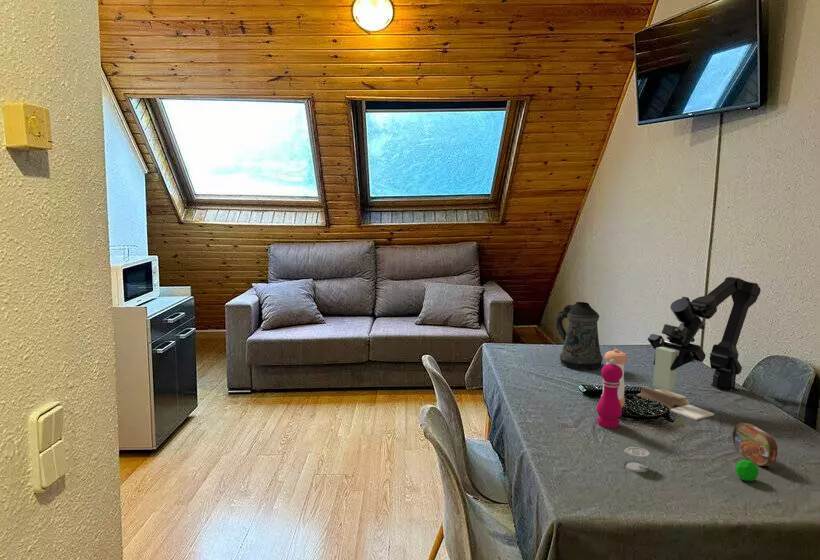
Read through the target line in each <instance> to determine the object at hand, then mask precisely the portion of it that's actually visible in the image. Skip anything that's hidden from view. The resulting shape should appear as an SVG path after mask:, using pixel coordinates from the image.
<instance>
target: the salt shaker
mask: <svg viewBox="0 0 820 560" xmlns="http://www.w3.org/2000/svg"><path fill="white" fill-rule="evenodd" d="M603 358H604V360H605V362H606V364H605V365H607V364H610V360H611V359H614V360H615V361H616V364H615V365H618V366H619V367H620V368H621V369H622V372H623V375H622V378H621V379H620V380H619V381H620V386H619V387H618V399H619V401H620V404H621V407H623V406H624V407H625V405H626V404H625V402H626V399H625V389H626V387H625V376H624V375H625V364H626V363H627V361H628V360H629V359H628V356H627V354H626V353H624V352H623V351H620V350H619V349H618V348H614V349H613V350H610V351H607V352H605V354H604V355H603ZM603 391H604V385H603V384H602V392H603ZM602 395H603V393H602V394H601V395H600V398H601V397H602Z"/></svg>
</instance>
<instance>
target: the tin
mask: <svg viewBox="0 0 820 560" xmlns="http://www.w3.org/2000/svg"><path fill="white" fill-rule="evenodd" d="M732 442H733V446H734V448H735V450H736V452H738V453H739V454H740V455H741V456H743V457H745V458H746V459H747V460H750V461H752V462H753V463H754V464H755V465H756V466H757V467H758V466H761V467H764V466H767V467H770V466H772V465H773V464H775V463H776V461H777V457H778V445H777V442H776V440H775V438H774V437H773V435H772V434H769V433H768V432H766V431H764V430H762V429H761V428H759V427H758V426H755V425H754V424H752V423H744V422H739V423H737V424H735V426H734V428H733V431H732Z"/></svg>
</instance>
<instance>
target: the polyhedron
mask: <svg viewBox="0 0 820 560" xmlns="http://www.w3.org/2000/svg"><path fill="white" fill-rule="evenodd" d="M759 473H760V469H759V467H758V465H756V464H755V463H753V462H752V461H750V460H749V459H743V460H740V461H738V462H737V463H736V465H735V474H736V475H737V476H738V477H739V478H740V479H741V480H742V481H745V482H753V481H754V480H757V478H758V477H759Z"/></svg>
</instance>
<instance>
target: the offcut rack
mask: <svg viewBox="0 0 820 560" xmlns="http://www.w3.org/2000/svg"><path fill="white" fill-rule="evenodd" d="M637 396H639V397H641V398H645V399H649V400H653V401H657V402H660V403H663V404H664V405H666V406H667V407H668V408H669V409H668V410H670V411H671V409H673V408H675V407H674V406H675V405H676V406H677V407H680V406H684V405H688V404H689V405H690V402H689V400H688V399H687V396H683V395H681V394H678V393H676V392H673V391H671V390H670V391H668V390H665V389H662V388H659V387H658V388H656V389H653V388H650V387H647V386H641V389H640V393H637V394H636V397H637Z"/></svg>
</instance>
